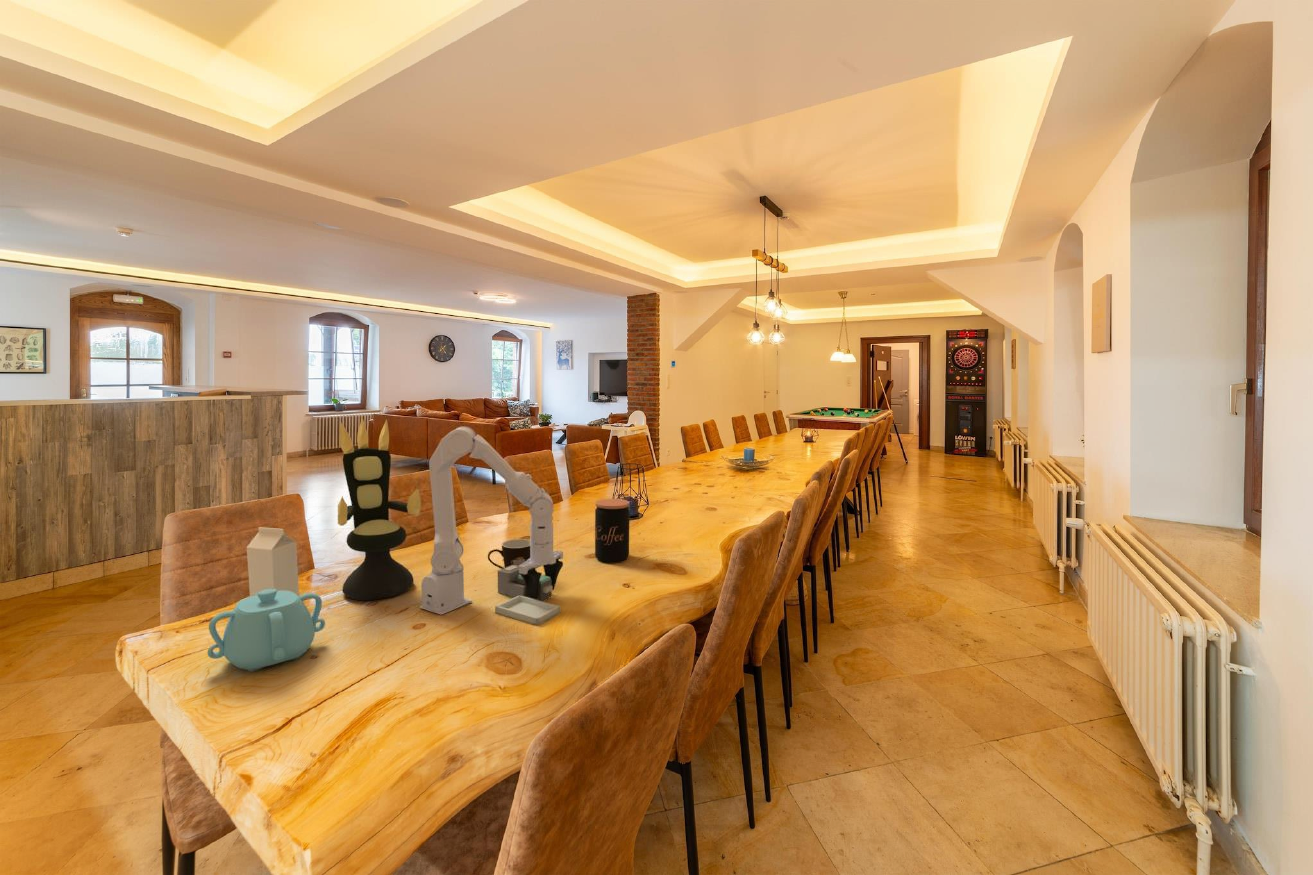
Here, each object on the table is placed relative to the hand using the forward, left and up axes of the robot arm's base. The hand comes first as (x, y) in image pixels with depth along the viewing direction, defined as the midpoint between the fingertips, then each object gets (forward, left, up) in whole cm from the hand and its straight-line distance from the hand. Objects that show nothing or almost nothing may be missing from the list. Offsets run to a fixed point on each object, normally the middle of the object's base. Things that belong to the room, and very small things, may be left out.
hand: (542, 593), depth 143 cm
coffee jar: (+36, +3, -2) cm, 36 cm away
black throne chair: (-18, +42, -2) cm, 46 cm away
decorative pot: (-51, +26, -2) cm, 57 cm away
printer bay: (0, +8, -1) cm, 8 cm away
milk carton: (-37, +53, -2) cm, 65 cm away
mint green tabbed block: (0, +3, -2) cm, 3 cm away
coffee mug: (+7, +17, -2) cm, 18 cm away
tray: (-9, -3, -1) cm, 9 cm away
